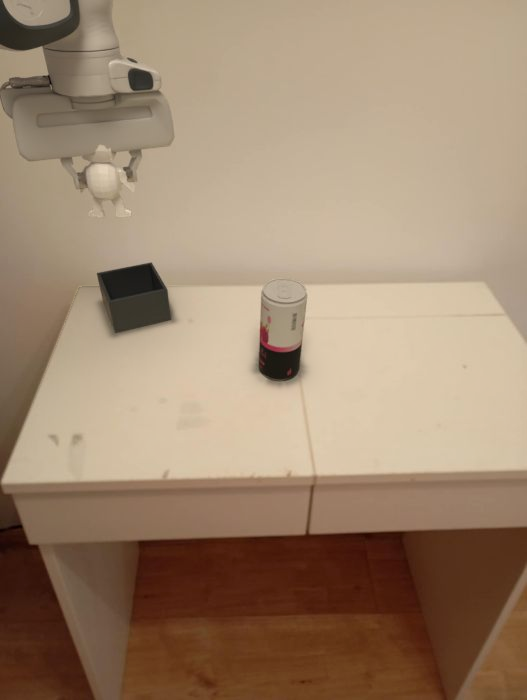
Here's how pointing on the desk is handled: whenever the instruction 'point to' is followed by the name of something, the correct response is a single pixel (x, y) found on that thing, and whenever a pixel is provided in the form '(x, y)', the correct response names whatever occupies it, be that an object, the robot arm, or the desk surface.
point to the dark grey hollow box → (134, 297)
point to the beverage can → (281, 327)
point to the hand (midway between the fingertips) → (107, 184)
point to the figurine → (105, 182)
